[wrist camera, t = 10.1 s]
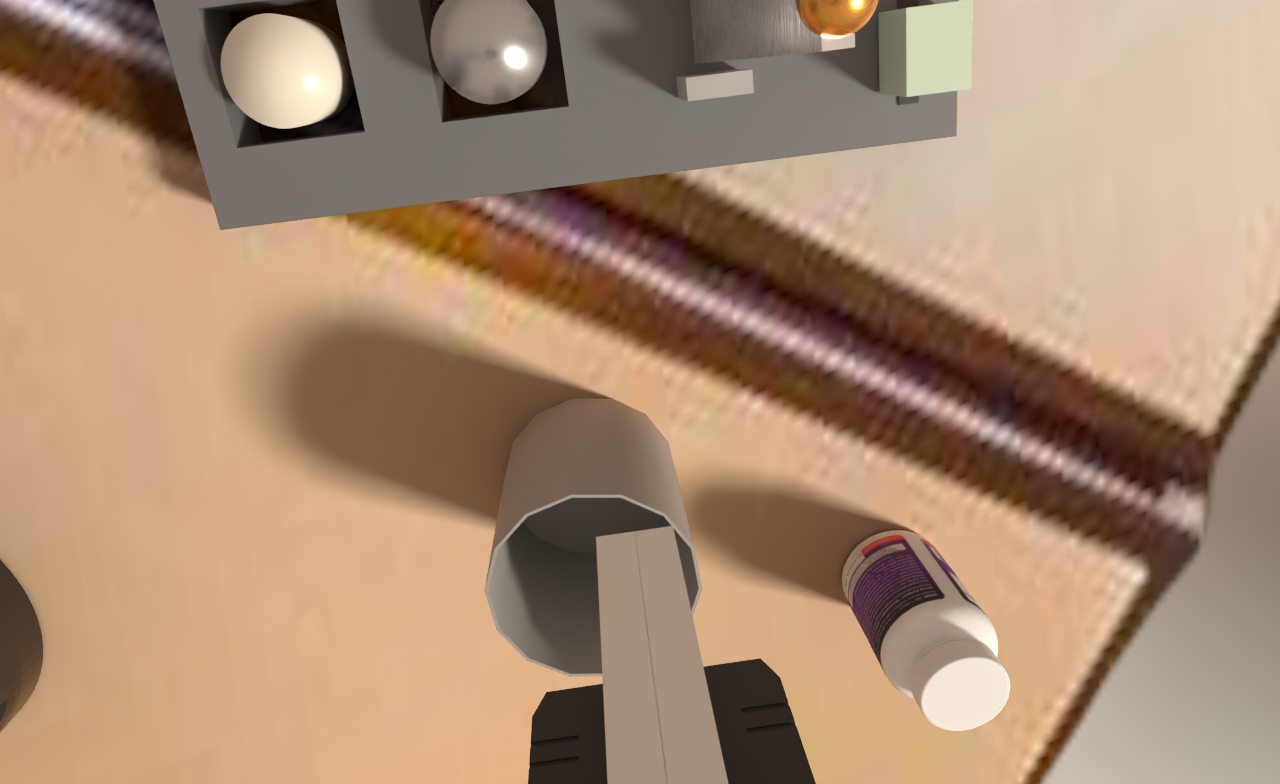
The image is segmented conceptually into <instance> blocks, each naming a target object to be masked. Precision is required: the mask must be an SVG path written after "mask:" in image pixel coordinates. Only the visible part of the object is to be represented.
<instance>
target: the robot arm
mask: <svg viewBox="0 0 1280 784" xmlns="http://www.w3.org/2000/svg"><path fill="white" fill-rule="evenodd" d="M596 547H597V569H598V590H599V611H600V633H601V654H602V675H603V684H599V685H592V686H585V687H579V688H572V689H565V690H559V691H552V692H546V694H545V696H544V698H543V699H542V701H541V703H540V705H539V706H538V708H537V710H536V711H535V713H534V715H533V717H532V732H531V748H530V769H529V779H528V784H816V783H815V780H814V777H813V774H812V771H811V769H810V766H809V763H808V760H807V757H806V754H805V751H804V748H803V745H802V742H801V739H800V736H799V733H798V730H797V727H796V726H795V721H794V718H793V715H792V712H791V709H790V706H789V705H788V700H787V697H786V694H785V691H784V688H783V685H782V682H781V679H780V677H779V676H778V675H777V674H776V673H775V672H774V671H773V670H772V669H771V668H770V667H768V666H767V665H766V664H765V663H764V662H763V661H762V660H761V659H754V660H747V661H740V662H733V663H727V664H720V665H713V666H706V667H703V663H702V659H701V654H700V649H699V645H698V640H697V635H696V631H695V626H694V621H693V617H692V612H691V607H690V603H689V598H688V594H687V589H686V584H685V580H684V575H683V570H682V566H681V561H680V556H679V552H678V547H677V542H676V538H675V533H674V528H673V526H668V527H661V528H654V529H647V530H640V531H633V532H627V533H620V534H613V535H606V536H599V537H596ZM42 660H43V642H42V634H41V629H40V625H39V622H38V619H37V616H36V613H35V611H34V608H33V606H32V604H31V602H30V600H29V598H28V596H27V594H26V593H25V591H24V589H23V588H22V586H21V585H20V583H19V582H18V580H17V579H16V578H15V577H14V575H13V574H12V573H11V572H10V570H9V569H8V568H7V567H6V566H5V565H4V564H3V563H2V562H1V561H0V732H1V731H2V730H3V729H4V728H5V727H6V725H7V724H8V723H9V722H10V721H11V720H12V718H13V717H14V716H15V715H16V714H17V713H18V712H19V710H20V709H21V708H22V707H23V706H24V704H25V703H26V702H27V700H28V699H29V697H30V696H31V694H32V692H33V690H34V689H35V686H36V684H37V682H38V679H39V675H40V672H41V667H42Z"/></svg>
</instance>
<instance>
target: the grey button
mask: <svg viewBox="0 0 1280 784" xmlns="http://www.w3.org/2000/svg"><path fill="white" fill-rule="evenodd" d="M431 50H432V55H433V59H434V62H435V64H436V67H437V69H438V71H439V73H440V74H441V76H442V77H443V79H444V80H445V81H446V82H447V84H448V85H449V86H450V87H451V88H452V89H453V90H455V91H456V92H457V93H459V94H460V95H462V96H463V97H465V98H467V99H469V100H472V101H475V102H478V103H483V104H499V103H504V102H508V101H510V100H513V99H515V98H517V97H519V96H521V95H522V94H524V93H526V92H527V91H528V90H530V89H531V88H532V87H533V86H534V85H535V84H536V82H537V81H538V80H539V78H540V76H541V75H542V73H543V70H544V68H545V65H546V61H547V55H548V43H547V37H546V32H545V29H544V26H543V24H542V22H541V20H540V18H539V17H538V15H537V14H536V12H535V11H534V10H533V8H532V7H531V6H530V5H529V4H528V2H527V1H526V0H445V1H444V2H443V3H442V4H441V6H440V7H439V9H438V11H437V13H436V15H435V18H434V20H433V24H432V28H431Z"/></svg>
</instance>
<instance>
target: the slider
mask: <svg viewBox="0 0 1280 784" xmlns="http://www.w3.org/2000/svg"><path fill="white" fill-rule="evenodd" d="M878 17H879V84H880V95H891V96H901V97H911V96H919V95H927V94H934V93H942V92H950V91H958V90H966V89H971V72H972V25H973V0H965V1H957V2H949V3H941V4H933V5H925V6H917V7H909V8H902V9H897V10H891V11H885V12H880V13H878Z"/></svg>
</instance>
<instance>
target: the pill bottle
mask: <svg viewBox="0 0 1280 784" xmlns="http://www.w3.org/2000/svg"><path fill="white" fill-rule="evenodd" d="M842 586H843V591H844V594H845V596H846V598H847V601H848V603H849V605H850V607H851V609H852V611H853V613H854V614H855V616H856V618H857V620H858V622H859V624H860V626H861V628H862V629H863V631H864V633H865V635H866V637H867V639H868V641H869V643H870V645H871V647H872V649H873V651H874V653H875V655H876V657H877V659H878V661H879V663H880V665H881V667H882V669H883V671H884V673H885V675H886V676H887V678H888V679H889V681H890V682H891V683H892V685H893V686H894V687H895V688H896V689H897V690H898V691H900V692H901V693H902V694H904V695H906V696H908V697H910V698H912V699H915V701H916V702H917V704H918V705H919V707H920V709H921V711H922V713H923V714H924V716H925V717H926V718H927V720H929V721H930V722H931V723H932V724H933V725H935V726H937V727H939V728H942V729H945V730H951V731H962V730H969V729H973V728H975V727H978V726H981V725H983V724H985V723H986V722H988V721H990V720H991V719H992V718H994V717H995V716H996V715H997V714H998V713H999V712H1000V711H1001V709H1002V708H1003V707H1004V705H1005V703H1006V701H1007V699H1008V696H1009V693H1010V681H1009V677H1008V674H1007V672H1006V671H1005V669H1004V667H1003V666H1002V664H1001V663H1000V661H999V660H998V659H997V653H998V641H997V635H996V632H995V629H994V627H993V625H992V623H991V622H990V620H989V619H988V617H987V616H986V614H985V613H984V612H983V610H982V609H981V608H980V606H979V605H978V604H977V602H976V601H975V600H974V598H973V597H972V596H971V594H970V593H969V592H968V590H967V589H966V588H965V586H964V585H963V583H962V582H961V581H960V580H959V578H958V577H957V576H956V574H955V573H954V572H953V570H952V569H951V568H950V567H949V565H948V564H947V563H946V561H945V560H944V559H943V557H942V556H941V555H940V553H939V552H938V551H937V550H936V548H935V547H934V546H933V545H932V544H931V543H930V542H929V541H928V540H927V539H925V538H924V537H922V536H920V535H918V534H916V533H913V532H910V531H904V530H892V531H885V532H882V533H878V534H876V535H873V536H871V537H869V538H867V539H866V540H864V541H863V542H861V543H860V544H859V545H858V546H857V547H856V548H855V549H854V550H853V551H852V553H851V554H850V556H849V557H848V559H847V561H846V563H845V565H844V569H843V573H842Z"/></svg>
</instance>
